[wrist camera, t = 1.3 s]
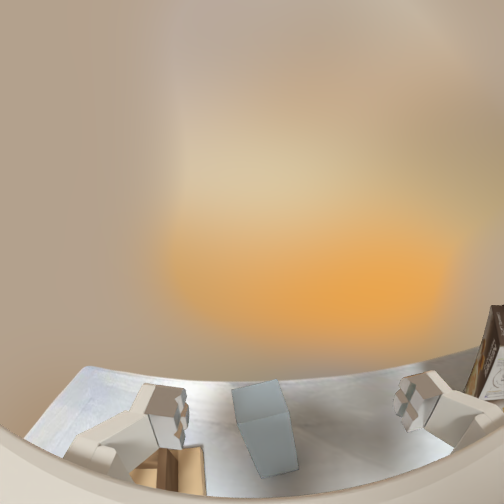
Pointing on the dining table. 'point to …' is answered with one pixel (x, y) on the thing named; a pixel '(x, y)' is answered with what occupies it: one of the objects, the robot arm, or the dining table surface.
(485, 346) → the coffee box
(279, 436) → the grey block
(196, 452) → the caddy
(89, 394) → the dining table surface
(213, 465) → the dining table surface
